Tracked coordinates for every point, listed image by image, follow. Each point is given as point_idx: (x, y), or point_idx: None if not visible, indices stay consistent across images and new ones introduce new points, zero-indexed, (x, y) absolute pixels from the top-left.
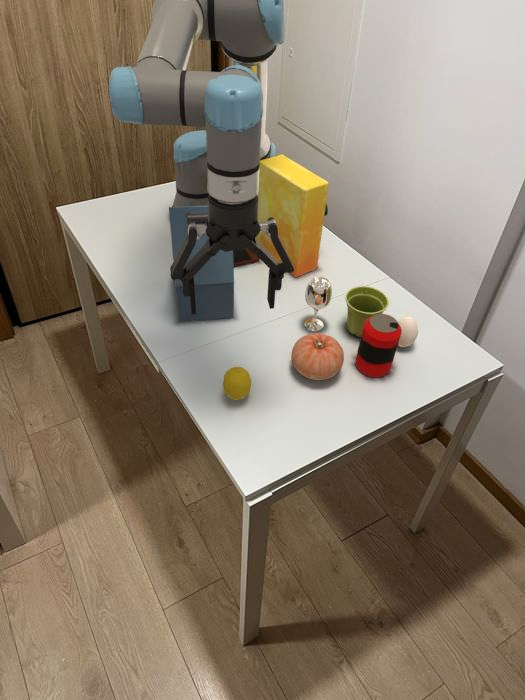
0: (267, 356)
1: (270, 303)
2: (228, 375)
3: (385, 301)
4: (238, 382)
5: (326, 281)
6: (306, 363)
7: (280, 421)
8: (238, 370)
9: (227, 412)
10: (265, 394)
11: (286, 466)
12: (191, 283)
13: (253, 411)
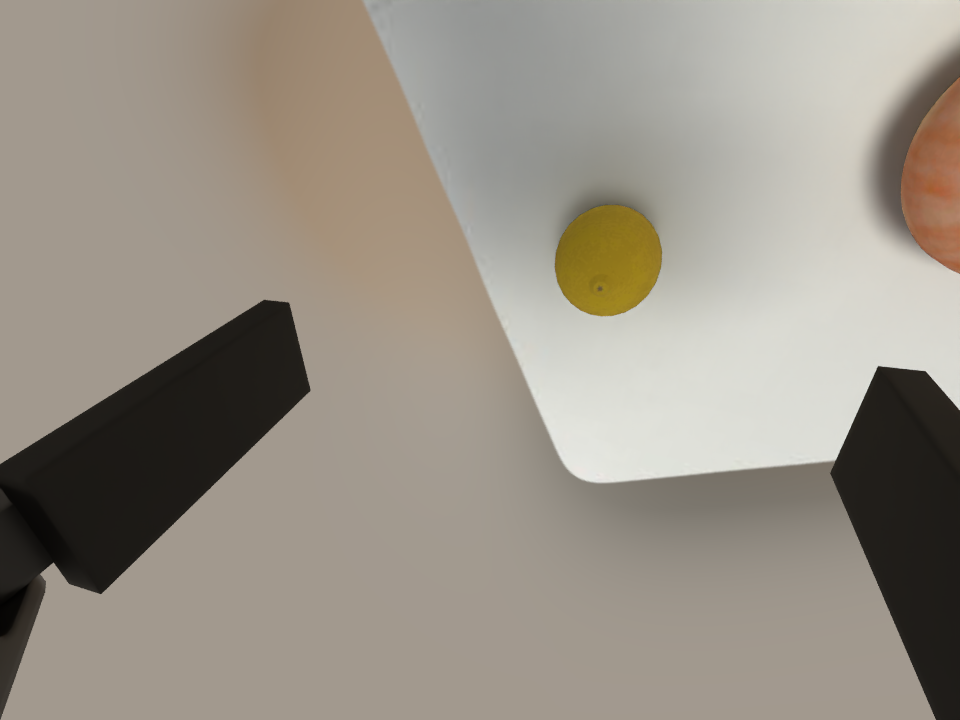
0: (819, 17)
1: (850, 515)
2: (567, 283)
3: None
4: (598, 314)
5: None
6: (955, 251)
7: (720, 352)
8: (604, 294)
9: None
10: (715, 242)
11: (678, 467)
12: (83, 584)
13: (650, 301)
